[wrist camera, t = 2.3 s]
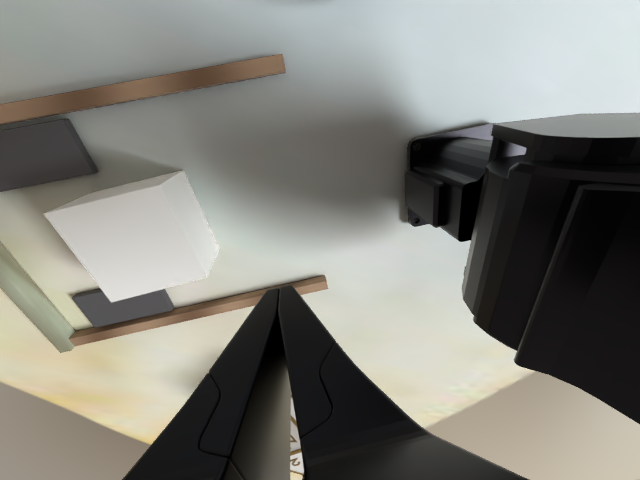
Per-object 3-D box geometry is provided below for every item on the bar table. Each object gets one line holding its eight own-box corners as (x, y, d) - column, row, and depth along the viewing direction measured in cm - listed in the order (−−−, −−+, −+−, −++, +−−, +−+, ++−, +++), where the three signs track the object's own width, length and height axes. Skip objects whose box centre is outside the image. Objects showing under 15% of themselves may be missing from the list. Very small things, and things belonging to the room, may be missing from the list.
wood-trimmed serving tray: (282, 56, 15) (282, 52, 14) (326, 283, 22) (328, 291, 21) (-115, 128, 14) (-147, 129, 13) (71, 340, 21) (60, 352, 20)
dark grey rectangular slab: (68, 118, 15) (62, 119, 14) (174, 306, 21) (171, 310, 21) (-42, 139, 14) (-53, 140, 14) (98, 323, 21) (95, 327, 20)
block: (184, 169, 17) (159, 185, 13) (220, 247, 20) (207, 277, 16) (92, 191, 17) (43, 213, 13) (141, 267, 20) (111, 302, 16)
